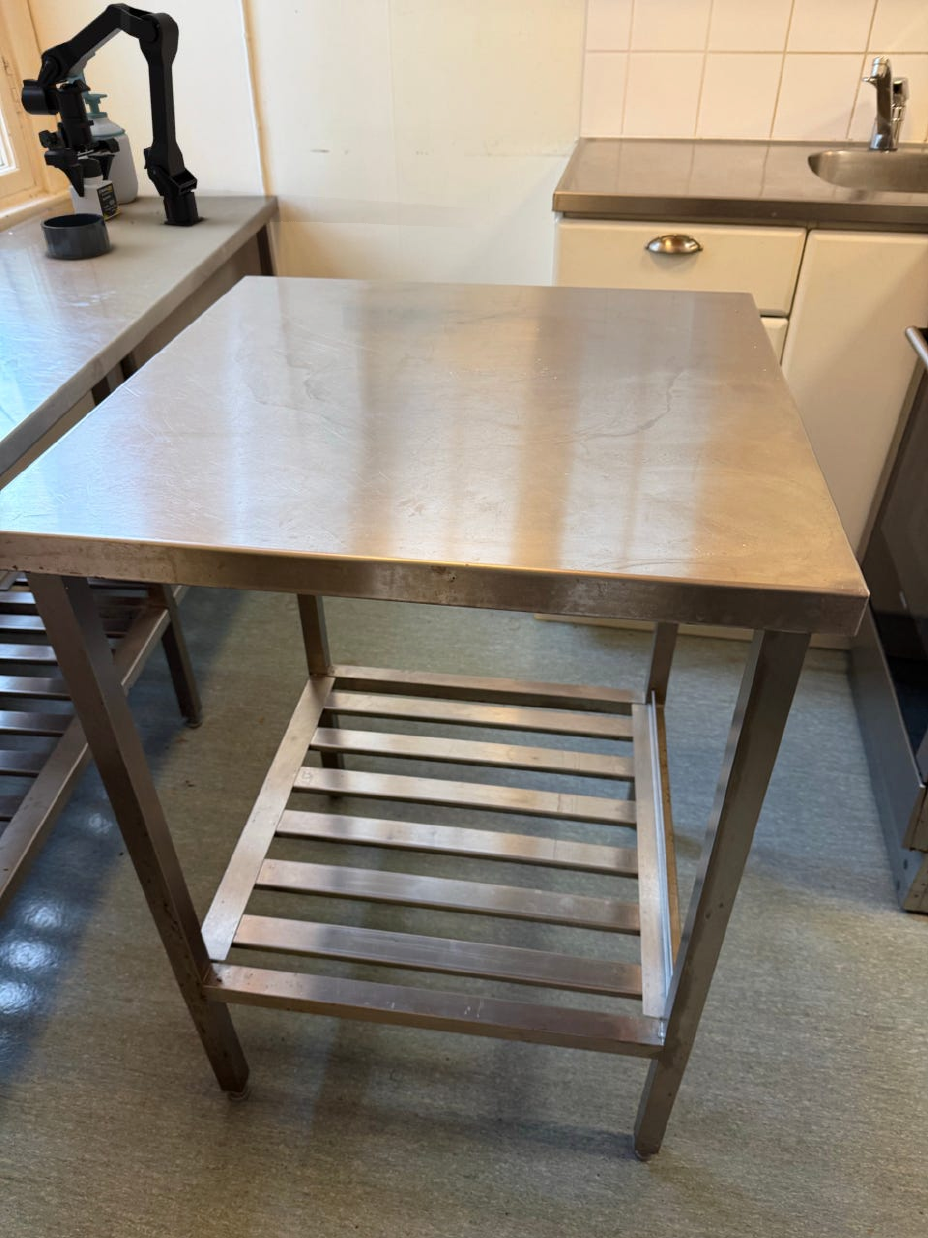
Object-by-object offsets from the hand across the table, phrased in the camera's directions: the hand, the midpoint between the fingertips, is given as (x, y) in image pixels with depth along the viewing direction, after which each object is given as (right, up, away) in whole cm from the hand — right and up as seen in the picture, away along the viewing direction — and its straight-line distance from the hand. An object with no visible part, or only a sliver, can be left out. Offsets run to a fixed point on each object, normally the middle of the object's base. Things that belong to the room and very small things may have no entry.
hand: (93, 193), depth 205 cm
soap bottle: (-1, +6, +16) cm, 17 cm away
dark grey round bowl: (+6, -21, -20) cm, 30 cm away
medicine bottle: (0, -4, +3) cm, 5 cm away
